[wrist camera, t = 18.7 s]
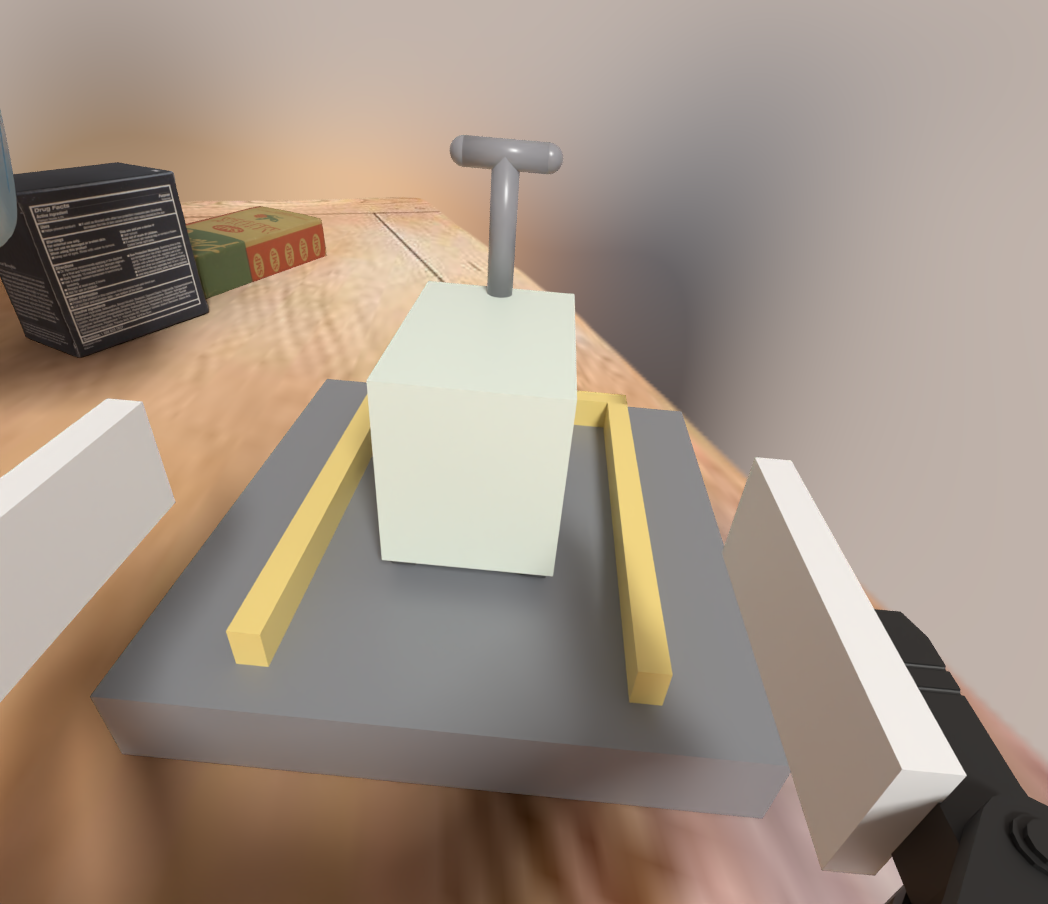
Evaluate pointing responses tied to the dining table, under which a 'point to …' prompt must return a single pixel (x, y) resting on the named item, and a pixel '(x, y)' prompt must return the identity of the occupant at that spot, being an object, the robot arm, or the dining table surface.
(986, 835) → the robot arm
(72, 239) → the small box
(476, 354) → the plunger detonator box
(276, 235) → the carton
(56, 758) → the dining table surface
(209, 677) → the dock
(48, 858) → the dining table surface
